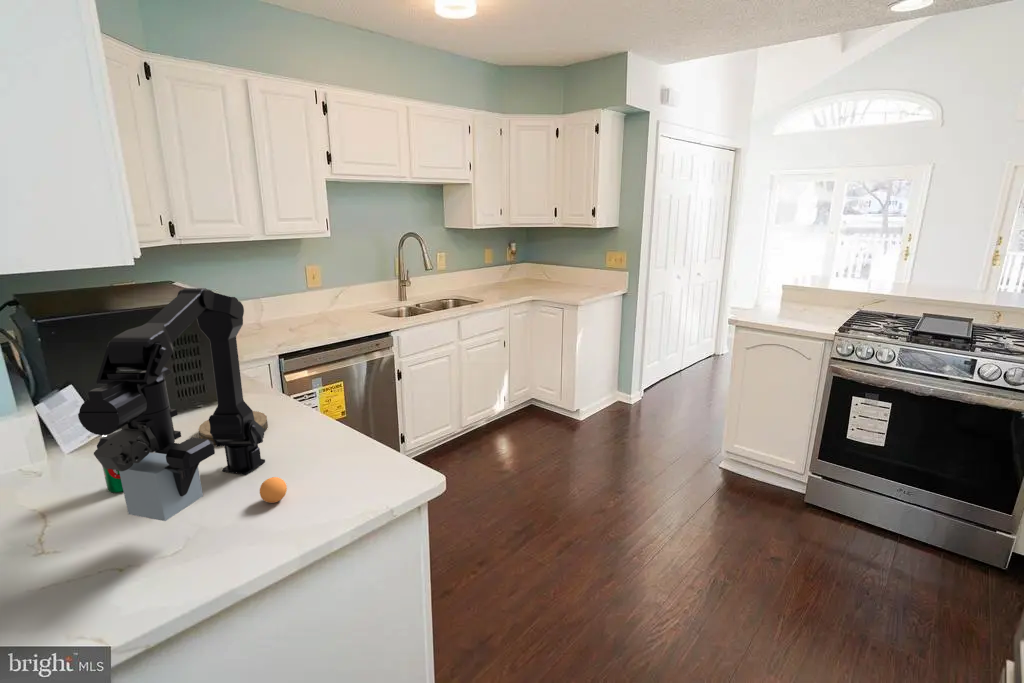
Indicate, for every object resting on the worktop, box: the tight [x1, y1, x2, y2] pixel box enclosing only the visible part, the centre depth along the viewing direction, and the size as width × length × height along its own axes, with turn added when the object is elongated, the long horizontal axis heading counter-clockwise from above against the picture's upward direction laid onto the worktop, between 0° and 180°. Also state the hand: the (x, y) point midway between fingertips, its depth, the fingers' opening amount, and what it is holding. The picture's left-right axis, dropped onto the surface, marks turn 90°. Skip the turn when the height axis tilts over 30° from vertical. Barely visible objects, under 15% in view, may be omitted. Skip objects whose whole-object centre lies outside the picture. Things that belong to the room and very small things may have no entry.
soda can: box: [97, 431, 124, 494], centre depth 104 cm, size 5×5×12 cm
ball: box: [259, 476, 288, 504], centre depth 101 cm, size 5×5×5 cm
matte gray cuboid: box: [119, 453, 204, 522], centre depth 86 cm, size 8×8×9 cm
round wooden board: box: [198, 410, 269, 446], centre depth 132 cm, size 16×16×3 cm
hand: (164, 491), depth 87 cm, fingers closed on matte gray cuboid, 8 cm apart
